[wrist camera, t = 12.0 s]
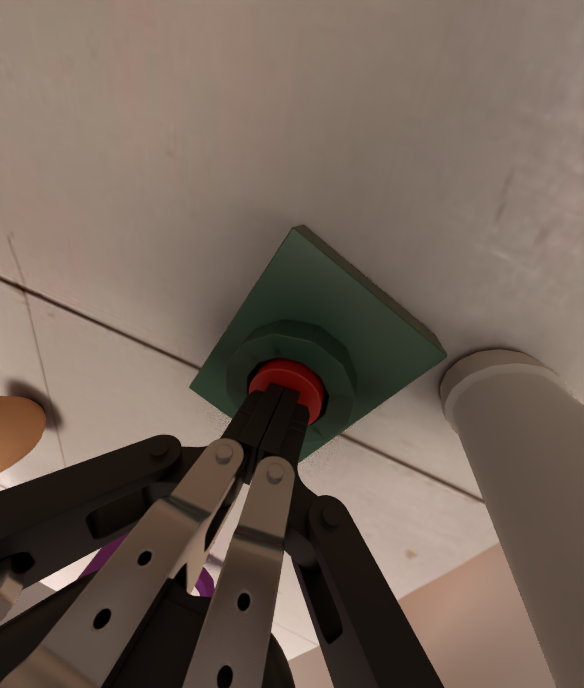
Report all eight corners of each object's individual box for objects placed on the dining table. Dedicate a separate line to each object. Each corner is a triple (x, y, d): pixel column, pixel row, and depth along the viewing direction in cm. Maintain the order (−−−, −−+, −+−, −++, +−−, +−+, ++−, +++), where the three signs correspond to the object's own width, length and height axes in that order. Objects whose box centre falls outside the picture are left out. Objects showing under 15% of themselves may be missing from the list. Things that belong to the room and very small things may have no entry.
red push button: (284, 337, 13) (273, 354, 11) (340, 380, 13) (337, 403, 11) (249, 379, 14) (235, 399, 13) (299, 416, 15) (291, 440, 13)
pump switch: (303, 223, 13) (280, 229, 9) (436, 336, 13) (461, 379, 10) (206, 370, 19) (170, 406, 15) (302, 440, 19) (289, 490, 16)
